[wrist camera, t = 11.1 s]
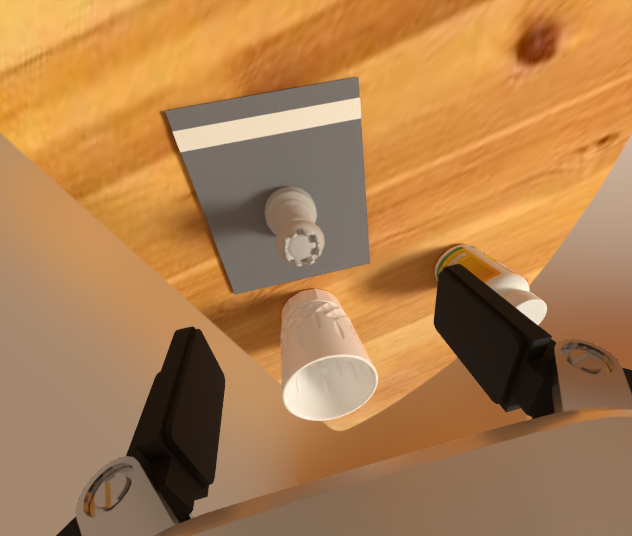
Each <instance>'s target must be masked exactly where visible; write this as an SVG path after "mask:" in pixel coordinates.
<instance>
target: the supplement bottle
mask: <svg viewBox="0 0 632 536" xmlns="http://www.w3.org/2000/svg"><path fill="white" fill-rule="evenodd" d="M455 264H461V265H463V266H464V267H465V268H466V269H468V270H469V271H470V272H471V273H473V274H474V275H475V276H476V277H478V278H479V279H480V280H481V281H483V282H484V283H485V284H487V285H488V286H489V287H490V288H492V289H493V290H494V291H495V292H497V293H498V294H499V295H500V296H502V297H503V298H504V299H505V300H507V301H508V302H509V303H510V304H512V305H513V306H514V307H516V308H517V309H518V310H519V311H521V312H522V313H523V314H524V315H526V316H527V317H528V318H529V319H531V320H532V321H533V322H534V323H536V324H537V325H539V324H540V322H541V321H542V320H543V318H544V317H545V314H546V311H547V306H546V304H545V302H544V301H543V300H541V299H540V298H538V297H537V296H535V295H534V294H533V293H531V292H529V286H528V283H527V282H526V280H525V279H524V278H523V277H522V276H520V275H519V274H517V273H516V272H514V271H512V270H511V269H509V268H508V267H506V266H505V265H503V264H501V263H500V262H498V261H497V260H495V259H493V258H492V257H490V256H489V255H487V254H486V253H484V252H482V251H481V250H479V249H478V248H476V247H474V246H472V245H468V244H461V245H457V246H454V247H452V248H450V249H449V250H448V251H446V252H445V253H444V254H443V255H442V256H441V257H440V258H439V260H438V261H437V263H436V266H435V277H436V279H437V281H438V277H439V273H440V272H441V271H442V269H443V268H444V267H446V266H450V265H455Z"/></svg>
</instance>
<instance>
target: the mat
mask: <svg viewBox="0 0 632 536" xmlns="http://www.w3.org/2000/svg"><path fill="white" fill-rule="evenodd" d="M165 113H166V115H167V118H168V120H169V123H170V126H171V128H172V131H173V135H174V137H175V140H176V142H177V145H178V148H179V150H180V152H181V155H182V157H183V160H184V162H185V165H186V168H187V170H188V173H189V176H190V178H191V181H192V183H193V186H194V189H195V191H196V194H197V197H198V199H199V202H200V204H201V207H202V210H203V212H204V215H205V218H206V220H207V223H208V225H209V228H210V231H211V233H212V236H213V239H214V241H215V244H216V246H217V249H218V252H219V254H220V257H221V260H222V262H223V265H224V267H225V270H226V273H227V275H228V278H229V281H230V283H231V286H232V288H233V291H234V294H239V293H244V292H248V291H252V290H257V289H261V288H265V287H269V286H274V285H278V284H282V283H287V282H291V281H295V280H300V279H304V278H308V277H313V276H317V275H321V274H326V273H330V272H334V271H339V270H343V269H347V268H351V267H356V266H360V265H364V264H369V263H370V256H369V240H368V224H367V208H366V192H365V176H364V160H363V144H362V128H361V106H360V97H359V81H358V77H355V78H349V79H343V80H338V81H332V82H326V83H321V84H315V85H309V86H304V87H298V88H292V89H287V90H281V91H275V92H270V93H264V94H258V95H253V96H247V97H241V98H236V99H230V100H224V101H219V102H213V103H207V104H202V105H196V106H190V107H185V108H179V109H173V110H168V111H165ZM290 186H293V187H297V188H301V189H303V190H304V191H305V192H307V193H308V194H309V195H310V196H311V198H312V199H313V201H314V203H315V206H316V212H317V218H316V222H315V225H317V226H318V227H319V228H320V229H321V231H322V233H323V234H324V241H325V245H324V248H323V251H322V253H321V255H320V256H318V258H317V259H316V260H315V263H313V264H312V265H310V266H309V265H308V264H304V265H302V266H301V267H296V266H294V265H293V264H289V263H288V262H286V261H284V260H283V259H282V258H281V257H280V255H279V254H278V253H277V249H276V244H275V243H276V239H277V235H275V234H274V233H273V232H272V231H271V229H270V228H269V227H268V225H267V222H266V218H265V213H264V210H265V205H266V202H267V200H268V199H269V197H270V196H271V194H272V193H274V192H275V191H277V190H279V189H280V188H284V187H290Z"/></svg>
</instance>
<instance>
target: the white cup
mask: <svg viewBox="0 0 632 536" xmlns="http://www.w3.org/2000/svg"><path fill="white" fill-rule="evenodd" d="M281 375H282V399H283V403H284V405H285V407H286V408H287V410H288V411H290V412H291V413H292V414H293V415H295V416H297V417H300V418H302V419H307V420H314V421H322V420H330V419H335V418H339V417H342V416H345V415H347V414H349V413H351V412H353V411H355V410H357V409H358V408H360V407H361V406H362V405H363V404H365V403H366V402H367V401H368V400H369V399H370V397H371V396H372V395H373V393H374V392H375V389H376V387H377V383H378V375H377V371H376V369H375V367H374V365H373V364H372V362H371V360H370V358H369V356H368V354H367V352H366V350H365V348H364V346H363V344H362V342H361V340H360V338H359V336H358V334H357V332H356V331H355V329H354V327H353V326H352V324H351V322H350V320H349V318H348V317H347V315H346V314H345V313H344V311H343V309H342V307H341V305H340V303H339V301H338V299H337V298H336V297H335V296H333V295H332V294H331V293H329V292H328V291H325V290H319V289H310V290H305V291H300V292H299V293H297V294H296V295H294V296H292V297H291V298H289V299H288V301H287V302H286V304H285V305H284V307H283V308H282V314H281Z"/></svg>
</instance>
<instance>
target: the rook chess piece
mask: <svg viewBox="0 0 632 536" xmlns="http://www.w3.org/2000/svg"><path fill="white" fill-rule="evenodd" d="M264 213H265V218H266V222H267V225H268V227H269V228H270V229H271V231H272V232H273V233H274V234H275V235H277V239H276V243H275V244H276V249H277V253H278V254H279V255H280V257H281V258H282V259H283V260H284V261H286V262H288V263H289V264H293V265H294V266H296V267H301V266H302V265H304V264H308V265H309V266H310V265H312V264H313V263H315V260H316V259H317V258H318V256H320V255H321V253H322V251H323V248H324V245H325V241H324V234H323V233H322V231H321V229H320V228H319V227H318V226H317V225H315V222H316V218H317V212H316V206H315V203H314V201H313V199H312V198H311V196H310V195H309V194H308V193H307V192H305V191H304V190H303V189H301V188H297V187H293V186H290V187H284V188H280V189H279V190H277V191H275V192H274V193H272V194H271V196H270V197H269V199H268V200H267V202H266V205H265V210H264Z"/></svg>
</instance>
